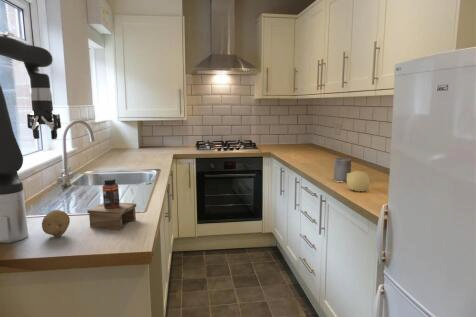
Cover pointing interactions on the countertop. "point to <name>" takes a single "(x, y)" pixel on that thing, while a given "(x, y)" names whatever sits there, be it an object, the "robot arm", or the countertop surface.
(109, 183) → the supplement bottle
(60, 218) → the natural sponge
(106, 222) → the walnut shelf
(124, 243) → the countertop surface
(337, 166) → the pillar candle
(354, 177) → the tan rounded lump
